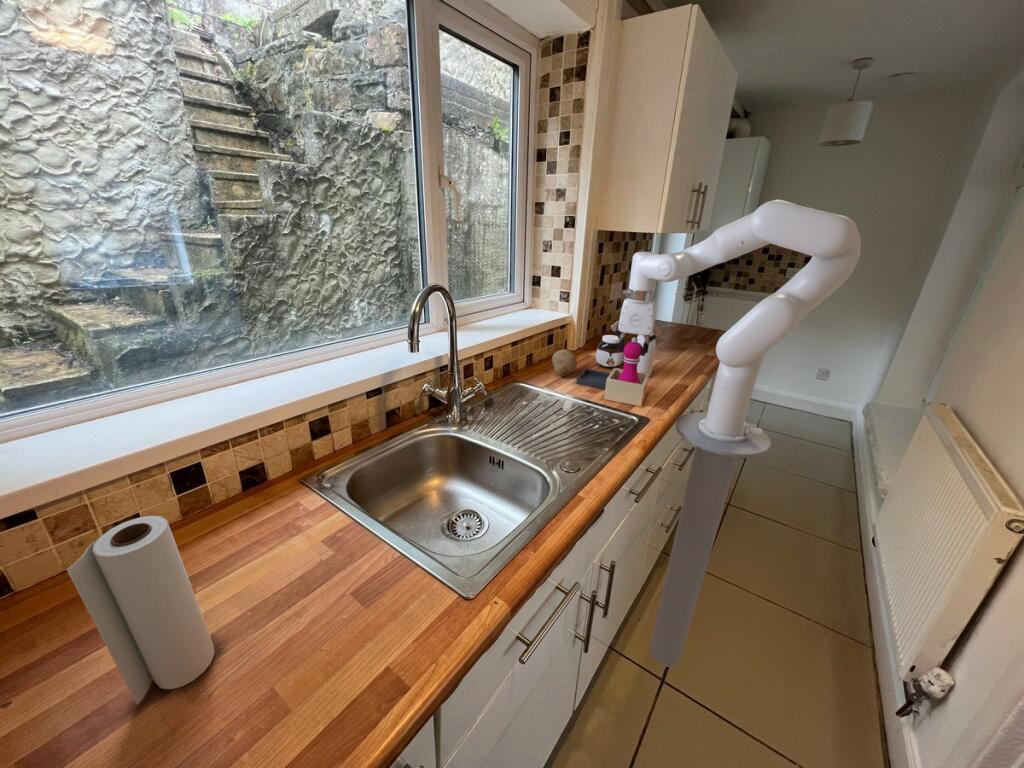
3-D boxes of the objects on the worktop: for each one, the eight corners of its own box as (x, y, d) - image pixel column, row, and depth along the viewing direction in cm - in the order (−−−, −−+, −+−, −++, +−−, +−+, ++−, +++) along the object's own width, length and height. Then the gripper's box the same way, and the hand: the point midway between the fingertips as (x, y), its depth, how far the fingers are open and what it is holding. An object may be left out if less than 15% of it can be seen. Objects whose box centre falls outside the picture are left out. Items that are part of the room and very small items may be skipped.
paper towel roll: (217, 634, 55) (172, 507, 47) (212, 676, 50) (160, 542, 42) (150, 659, 52) (88, 527, 44) (137, 706, 47) (65, 567, 39)
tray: (614, 379, 147) (615, 374, 147) (607, 389, 138) (608, 384, 137) (585, 373, 152) (585, 368, 151) (576, 383, 142) (576, 378, 141)
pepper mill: (632, 402, 129) (641, 341, 121) (611, 396, 133) (619, 337, 125) (641, 395, 134) (650, 337, 126) (620, 390, 138) (628, 332, 130)
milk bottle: (652, 378, 149) (661, 325, 141) (630, 376, 150) (638, 323, 142) (649, 371, 156) (658, 320, 148) (628, 369, 157) (636, 318, 149)
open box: (646, 393, 136) (649, 373, 133) (640, 406, 126) (644, 385, 124) (611, 386, 141) (614, 367, 138) (603, 399, 131) (606, 378, 128)
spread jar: (593, 366, 159) (596, 338, 154) (599, 358, 169) (602, 331, 164) (624, 371, 155) (628, 342, 150) (628, 362, 164) (632, 335, 160)
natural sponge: (574, 371, 153) (576, 346, 149) (577, 380, 145) (579, 354, 141) (550, 371, 153) (551, 345, 149) (551, 379, 145) (553, 353, 141)
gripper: (609, 294, 121) (602, 352, 128) (670, 300, 114) (659, 361, 121) (614, 291, 127) (608, 346, 134) (672, 296, 121) (662, 354, 127)
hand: (632, 352), depth 128 cm, fingers closed on pepper mill, 6 cm apart
